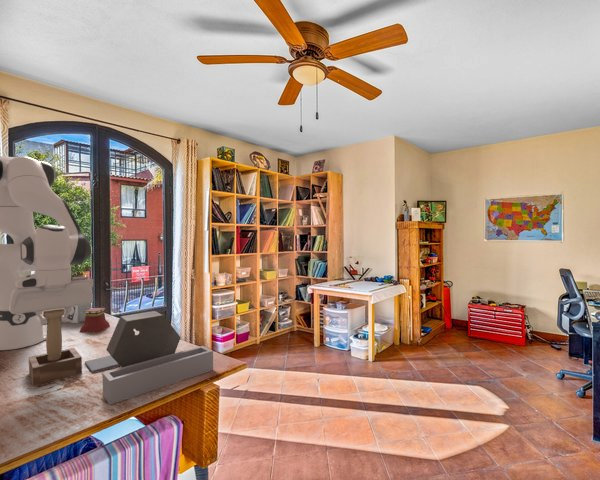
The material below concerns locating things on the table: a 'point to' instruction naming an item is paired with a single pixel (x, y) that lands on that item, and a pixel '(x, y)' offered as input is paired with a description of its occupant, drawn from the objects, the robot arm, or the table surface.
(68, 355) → the block
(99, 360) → the mat
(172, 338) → the planter
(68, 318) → the hard drive box
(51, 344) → the handle
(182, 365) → the tray
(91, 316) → the red drawstring pouch
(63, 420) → the table surface
